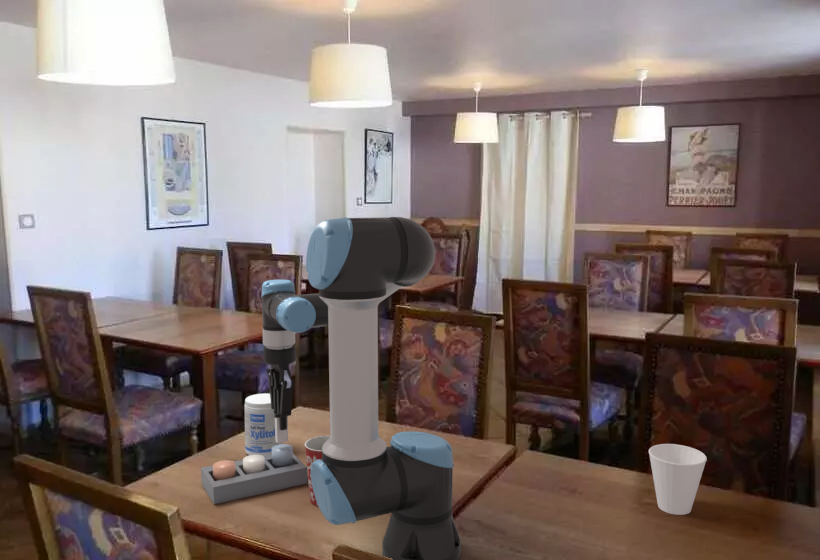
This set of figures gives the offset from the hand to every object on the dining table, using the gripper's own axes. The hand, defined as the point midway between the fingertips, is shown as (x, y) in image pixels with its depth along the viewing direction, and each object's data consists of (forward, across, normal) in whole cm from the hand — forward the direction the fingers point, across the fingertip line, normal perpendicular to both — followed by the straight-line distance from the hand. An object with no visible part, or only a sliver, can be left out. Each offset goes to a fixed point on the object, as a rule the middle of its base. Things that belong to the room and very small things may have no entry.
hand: (281, 441), depth 165 cm
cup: (+9, -57, -70) cm, 91 cm away
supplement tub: (+10, +18, -1) cm, 20 cm away
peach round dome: (+7, 0, +14) cm, 15 cm away
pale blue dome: (+5, 0, 0) cm, 5 cm away
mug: (+9, -15, -6) cm, 19 cm away
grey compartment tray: (+9, 0, +7) cm, 12 cm away
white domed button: (+7, 0, +7) cm, 10 cm away
